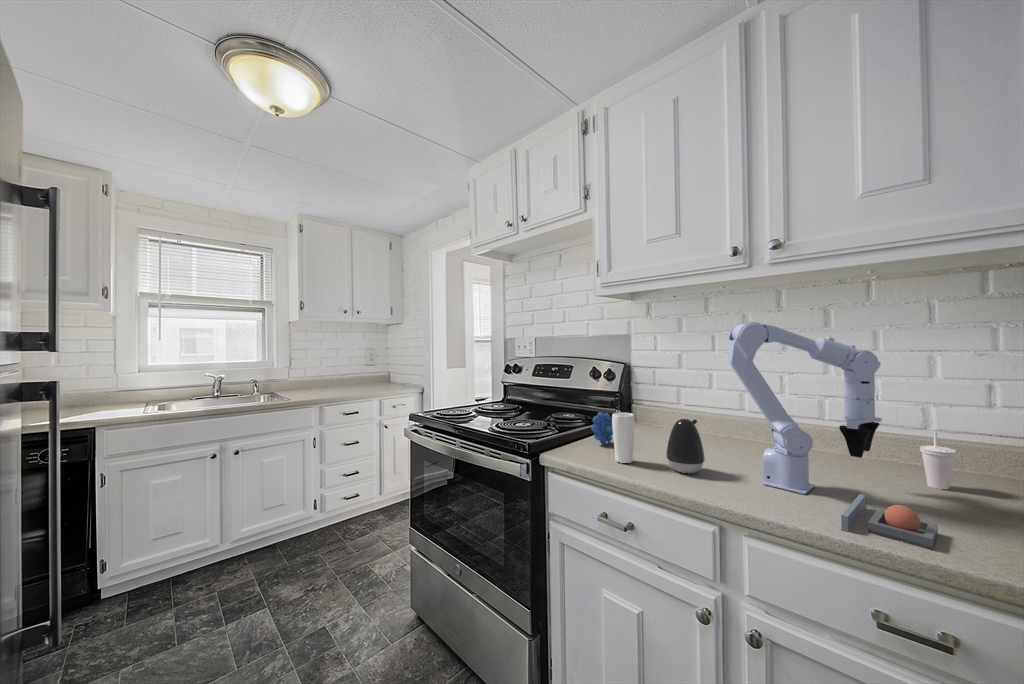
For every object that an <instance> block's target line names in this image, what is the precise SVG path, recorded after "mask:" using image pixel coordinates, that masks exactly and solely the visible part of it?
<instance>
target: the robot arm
mask: <svg viewBox="0 0 1024 684" xmlns="http://www.w3.org/2000/svg"><path fill="white" fill-rule="evenodd" d="M727 340H728V363H729V365H730V366H731V368H732V369H733V371H734V372H735V374H736V375H737V377H738V379H739V380H740V381H741V384H743V387H744V388H745V390H746V391H747V392H748V393H749V395H750V397H751V398H752V400H753V402H754V403H755V404H756V406H757V407H758V409H759V410H760V412H761V413H762V415H763V416H764V419H766V423H767V425H768V427H769V429H770V433H771V434H770V435H771V438H772V440H773V442H774V443H775V445H774V447H773V448H771V447H770V448H769V447H767V448H766V449H765V450H764V452H763V456H762V477H763V479H762V482H761V483H762V485H765V486H769V487H774V488H778V489H781V490H786V491H790V492H793V493H798V494H802V495H806V494H807V493H809V492H811V490H812V489H814V488H815V484H813V483H810V478H809V477H810V472H809V471H810V470H809V466H810V465H809V463H810V462H809V460H810V459H809V452H810V451H811V450H812V448H813V445H814V443H813V442H814V441H813V438H812V437H811V435H810V434H809V433H807V432H806V431H804V430H803V429H801V427H799V425H798V423H796V422H795V420H794V419H793V418H792V417H791V416H790V415H789V414H788V413H787V411H786V410H785V408H784V406H783V404H781V402H780V400H779V399H778V398H777V396H776V394H775V393H774V392H773V390H772V388H771V387H770V385H769V384H768V383H767V381H766V380H765V378H764V376H763V375H762V373H761V372H760V370H759V369H758V368H757V366H756V365H755V363H754V358H755V357H756V353H757V351H758V350H759V349H760V348H761V346H762V345H763V344H764V343H765V344H766V343H767V344H768V343H769V344H771V343H775V342H776V343H778V344H782V345H785V346H788V347H792V348H795V349H798V350H802V351H805V352H807V353H808V355H809V356H810V358H811V359H812V360H816V361H819V362H821V363H825V364H828V365H831V366H834V367H837V368H839V369H841V370H843V396H844V397H843V406H844V407H843V408H844V414H842V415H843V416H842V417H843V419H844V420H845V421H846V425H842V424H841V425H840V426H838V428H839V431H840V432H841V434H842V435H843V437H844V440H845V443H846V446H847V450H848V453H849V455H850V457H854V458H863V456H864V452H870V451H871V446H872V443H873V439H874V435H875V433H876V431H877V429H878V427H880V423H881V422H882V421H883V418H882V417H876V395H875V393H876V392H875V390H876V389H875V374H876V372H877V371H878V370H879V369H880V367H881V361H879V359H878V356H877V355H875V353H874V352H872V351H869V350H866V349H865V350H863V349H857V348H856V345H853V344H848V345H847V344H844V343H841V342H837V341H835V338H834V337H831V336H830V337H829V336H826V337H819V338H817V339H812V338H808V337H807V336H803V335H801V334H798V333H794V332H792V331H789V330H786V329H784V328H781V327H778V326H774V325H771V324H767V323H766V324H765V323H764V324H763V323H760V322H758V321H750V322H741V323H737V324H736V325H734V326H733V327H732V329H731V331H730V333H729V336H728V337H727Z"/></svg>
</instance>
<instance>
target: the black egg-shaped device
mask: <svg viewBox="0 0 1024 684" xmlns="http://www.w3.org/2000/svg"><path fill="white" fill-rule="evenodd" d="M697 423H698V420H697V419H692V420H690V419H688V418H680V419H677V421H675V423H674V424H673V427H672V428H671V431H670V434H669V438H668V442H667V446H666V452H665V453H666V455H665V456H666V459H667V461H668V464H669V466H670V467H671V468H672V469H673V470H674V471H676V472H677V471H678V472H677V473H680V472H681V474H685V473H688V475H690V473H692V474H696V473H698V472H699V471H700V470H701V469H702V467H703V466H704V462H705V460H706V459H705V458H706V457H705V451H704V446H703V442H702V439H701V436H700V433H699V430H698V428H697V427H696V424H697Z"/></svg>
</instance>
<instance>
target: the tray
mask: <svg viewBox="0 0 1024 684" xmlns="http://www.w3.org/2000/svg"><path fill="white" fill-rule="evenodd" d="M885 511H886V510H885ZM885 511H884V510H881V509H876V510H875V512H874V513H873V514H872V516H871V518H870V519H869V520H868V522H867V533H868V534H873V535H876V536H879V537H884V538H887V539H891V540H894V539H895V540H894V541H897V540H898V542H901V541H903V542H902V543H905V542H906V543H905V544H908V543H909V544H908V545H913V546H915V545H917V546H916V547H919V546H920V547H919V548H924V549H926V548H927V550H931V551H933V550H934V548H933V547H935V545H934V544H936V541H937V537H938V534H939V532H938V531H939V527H938V526H939V525H938V523H935V522H931V521H927V520H923V519H920V527H919V529H918V530H916V531H915V532H912V531H908V530H904V529H900V528H897V527H893V526H889V524H888V523H887V522H886V520H885V516H884V514H885Z"/></svg>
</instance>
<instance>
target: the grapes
mask: <svg viewBox="0 0 1024 684" xmlns="http://www.w3.org/2000/svg"><path fill="white" fill-rule="evenodd" d="M592 423H593V424H592V425H591V431H592V433H593V437H594V439H595V440H597V441H599V442H600V443H601V445H605V444H606V443H607V442H608V443H610V442H611V441H612V440H613V430H612V418H611V415H610V413H608V412H605V413H604V412H602V411H598V413H597V415H595V416H593V418H592Z"/></svg>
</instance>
